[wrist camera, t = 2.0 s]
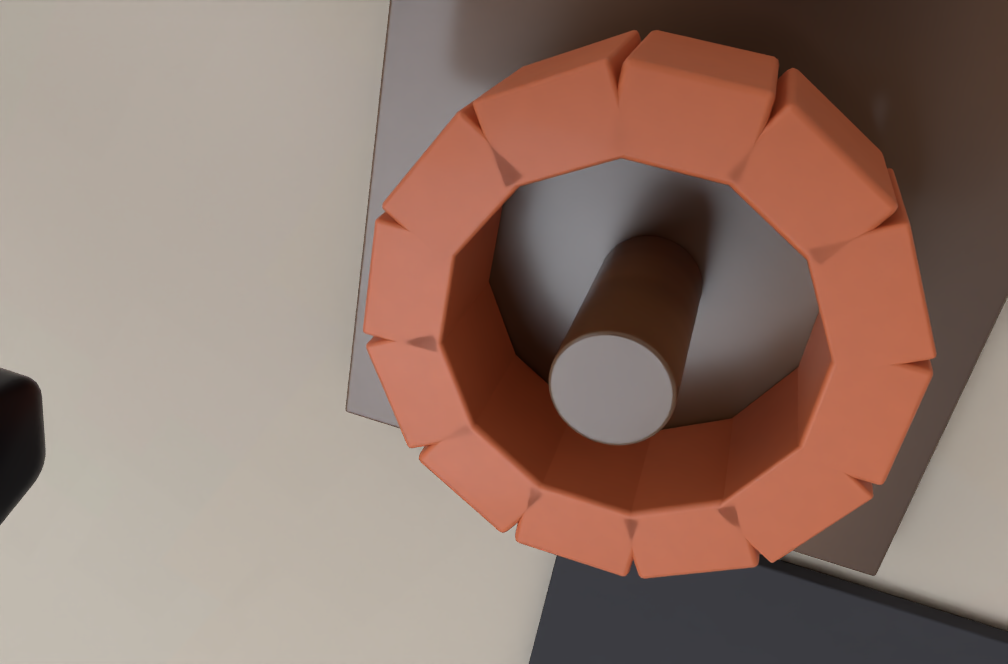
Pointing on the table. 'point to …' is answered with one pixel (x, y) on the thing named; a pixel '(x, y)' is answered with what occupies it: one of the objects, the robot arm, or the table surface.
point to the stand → (715, 216)
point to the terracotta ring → (675, 451)
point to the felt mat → (746, 621)
